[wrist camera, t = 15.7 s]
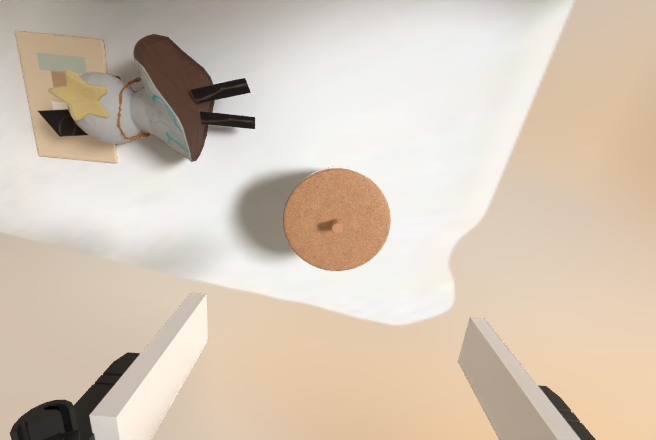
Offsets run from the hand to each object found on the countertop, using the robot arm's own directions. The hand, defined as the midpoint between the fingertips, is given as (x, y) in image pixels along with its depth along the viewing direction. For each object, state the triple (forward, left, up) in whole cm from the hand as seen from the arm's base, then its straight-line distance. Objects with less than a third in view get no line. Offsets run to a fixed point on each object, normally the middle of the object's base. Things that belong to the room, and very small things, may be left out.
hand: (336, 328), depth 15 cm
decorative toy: (+19, -9, -24) cm, 32 cm away
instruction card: (+31, -9, -24) cm, 40 cm away
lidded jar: (0, 0, -24) cm, 24 cm away
